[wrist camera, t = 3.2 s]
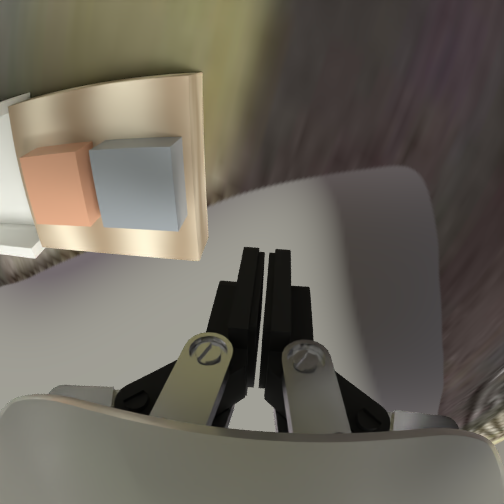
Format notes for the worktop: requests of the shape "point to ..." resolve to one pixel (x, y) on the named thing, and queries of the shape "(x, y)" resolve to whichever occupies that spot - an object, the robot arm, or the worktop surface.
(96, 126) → the plate
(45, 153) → the terracotta tile
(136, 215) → the slate tile
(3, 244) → the box
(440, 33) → the worktop surface
